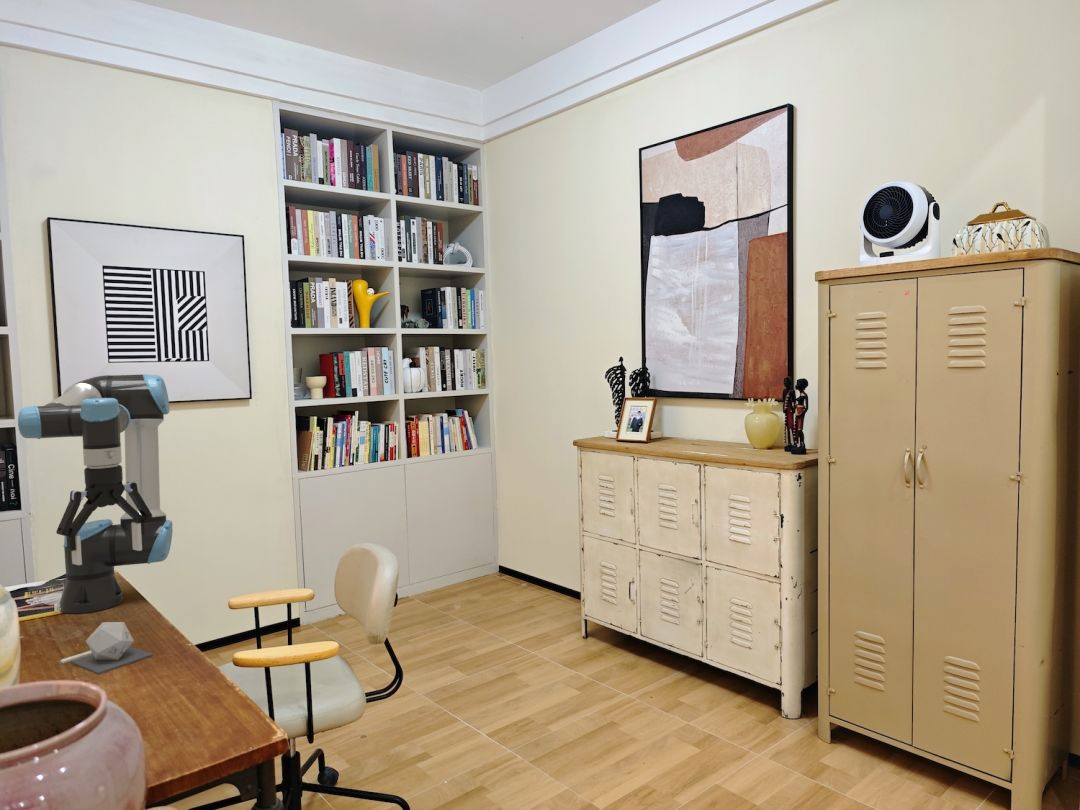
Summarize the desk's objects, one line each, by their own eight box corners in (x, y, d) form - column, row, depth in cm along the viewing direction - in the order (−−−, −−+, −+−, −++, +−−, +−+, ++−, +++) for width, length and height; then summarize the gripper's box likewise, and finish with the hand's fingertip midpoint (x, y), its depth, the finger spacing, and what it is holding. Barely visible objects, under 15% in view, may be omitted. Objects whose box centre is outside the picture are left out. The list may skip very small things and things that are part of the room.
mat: (123, 642, 180) (122, 640, 180) (157, 654, 172) (157, 652, 172) (60, 662, 169) (60, 659, 169) (93, 675, 161) (93, 673, 161)
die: (99, 671, 164) (127, 632, 166) (70, 649, 166) (99, 611, 168) (120, 670, 172) (147, 632, 174) (93, 649, 173) (120, 612, 176)
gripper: (51, 475, 159) (57, 573, 160) (164, 459, 179) (169, 546, 181) (35, 472, 163) (41, 567, 164) (147, 457, 184) (151, 542, 185)
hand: (108, 556), depth 173 cm, fingers open, 13 cm apart
